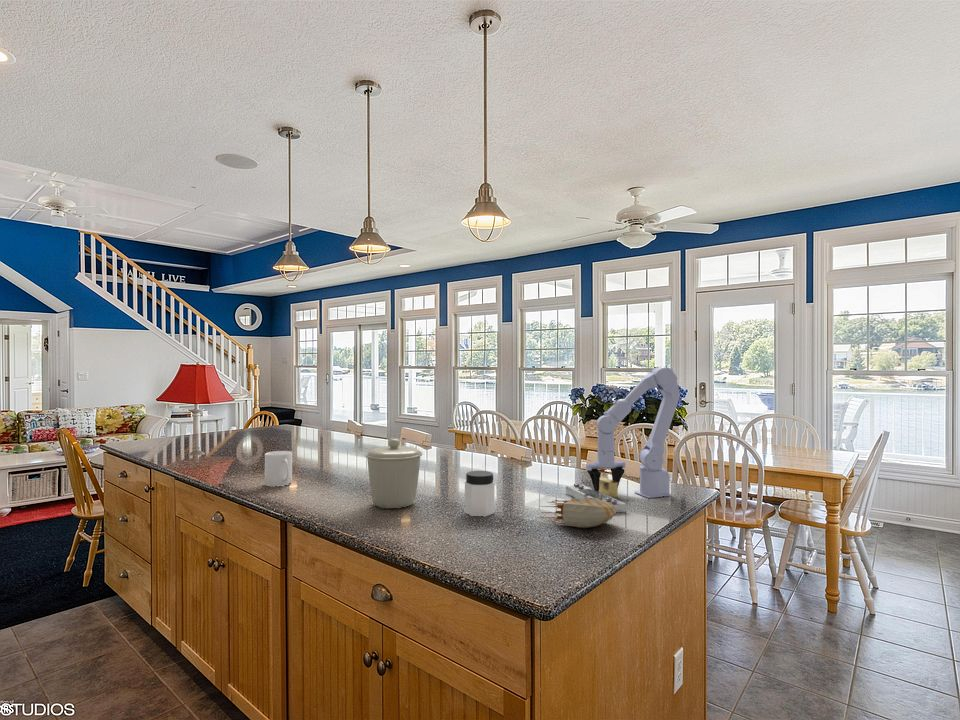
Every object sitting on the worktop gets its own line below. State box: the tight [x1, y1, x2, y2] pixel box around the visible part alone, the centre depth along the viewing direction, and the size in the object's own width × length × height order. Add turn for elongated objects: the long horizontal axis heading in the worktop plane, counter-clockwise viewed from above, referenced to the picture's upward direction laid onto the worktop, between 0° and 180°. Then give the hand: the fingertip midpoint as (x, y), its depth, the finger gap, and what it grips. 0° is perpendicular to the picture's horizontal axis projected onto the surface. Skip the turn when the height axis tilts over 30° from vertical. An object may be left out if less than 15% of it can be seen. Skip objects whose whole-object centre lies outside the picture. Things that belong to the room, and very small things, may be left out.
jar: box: [464, 470, 495, 518], centre depth 159 cm, size 9×8×12 cm
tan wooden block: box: [598, 476, 619, 498], centre depth 182 cm, size 4×9×5 cm, turn 18°
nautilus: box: [539, 497, 617, 529], centre depth 148 cm, size 8×22×15 cm
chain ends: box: [565, 483, 627, 513], centre depth 172 cm, size 7×26×3 cm, turn 19°
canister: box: [364, 438, 424, 509], centre depth 168 cm, size 18×18×21 cm
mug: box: [264, 450, 293, 486], centre depth 194 cm, size 10×12×12 cm
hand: (605, 489), depth 182 cm, fingers open, 7 cm apart
